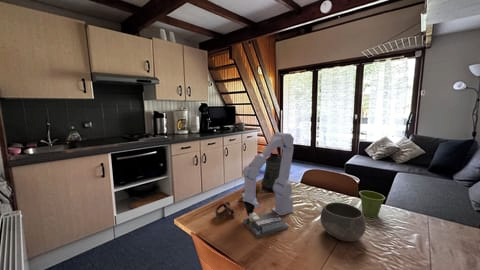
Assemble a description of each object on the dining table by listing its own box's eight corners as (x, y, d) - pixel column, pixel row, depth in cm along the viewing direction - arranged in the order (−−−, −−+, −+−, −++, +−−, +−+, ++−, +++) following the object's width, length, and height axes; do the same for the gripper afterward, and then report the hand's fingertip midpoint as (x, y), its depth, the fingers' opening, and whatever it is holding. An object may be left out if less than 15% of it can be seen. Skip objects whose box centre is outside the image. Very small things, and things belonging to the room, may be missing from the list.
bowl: (365, 254, 80) (367, 224, 78) (316, 240, 89) (318, 212, 87) (363, 231, 95) (365, 205, 94) (322, 221, 104) (323, 197, 103)
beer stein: (256, 188, 147) (257, 154, 144) (271, 181, 162) (271, 150, 159) (277, 194, 137) (278, 158, 134) (290, 186, 151) (291, 153, 149)
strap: (278, 218, 103) (278, 216, 103) (282, 221, 100) (282, 219, 100) (255, 224, 97) (255, 221, 97) (258, 227, 94) (258, 224, 94)
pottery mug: (235, 222, 103) (228, 210, 101) (219, 228, 105) (211, 217, 103) (237, 206, 115) (230, 195, 112) (222, 211, 117) (215, 201, 114)
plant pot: (361, 218, 107) (362, 198, 106) (355, 208, 118) (356, 189, 117) (387, 222, 104) (389, 200, 102) (378, 211, 115) (380, 191, 114)
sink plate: (271, 215, 110) (271, 207, 110) (288, 228, 98) (288, 220, 97) (243, 222, 103) (243, 214, 102) (257, 237, 90) (257, 229, 90)
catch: (254, 218, 103) (254, 212, 103) (260, 223, 99) (260, 217, 98) (249, 219, 102) (249, 213, 102) (254, 225, 97) (254, 218, 97)
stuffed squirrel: (237, 201, 126) (237, 180, 125) (251, 194, 137) (251, 175, 135) (249, 206, 120) (250, 184, 118) (263, 198, 131) (263, 178, 129)
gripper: (236, 186, 108) (236, 210, 109) (250, 196, 95) (249, 224, 96) (248, 184, 111) (248, 207, 112) (263, 193, 98) (262, 220, 99)
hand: (249, 215), depth 105 cm, fingers closed
